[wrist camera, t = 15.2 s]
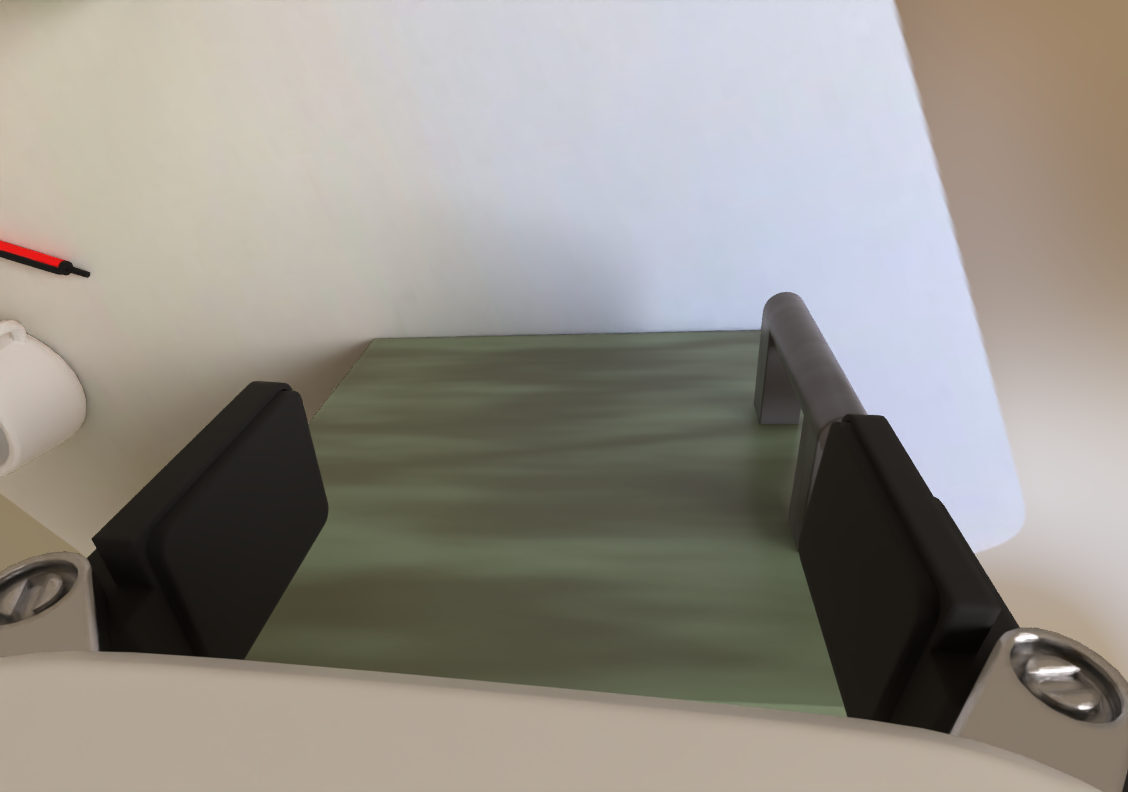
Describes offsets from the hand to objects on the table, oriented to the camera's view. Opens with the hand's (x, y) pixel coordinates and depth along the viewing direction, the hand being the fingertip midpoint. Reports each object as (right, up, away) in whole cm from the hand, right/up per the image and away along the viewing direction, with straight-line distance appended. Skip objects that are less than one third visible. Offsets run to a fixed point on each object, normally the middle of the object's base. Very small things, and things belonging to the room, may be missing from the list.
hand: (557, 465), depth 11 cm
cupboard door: (+1, +7, +26) cm, 27 cm away
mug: (-38, +3, +34) cm, 51 cm away
